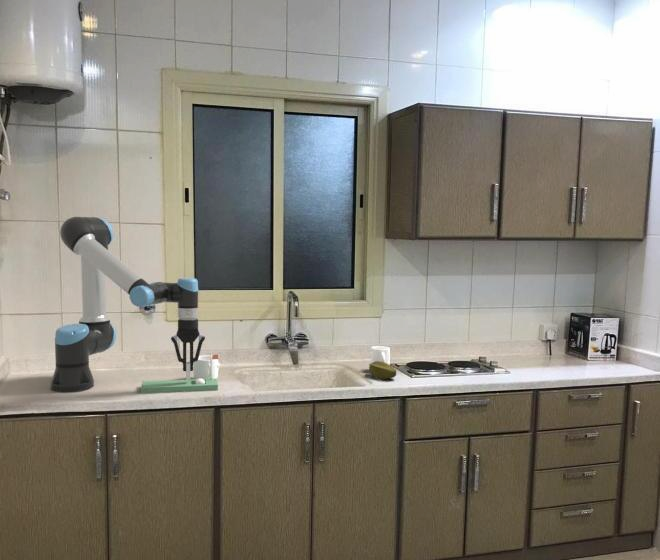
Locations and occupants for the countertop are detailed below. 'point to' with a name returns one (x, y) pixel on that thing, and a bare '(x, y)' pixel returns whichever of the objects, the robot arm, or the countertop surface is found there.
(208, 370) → the mug
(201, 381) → the ball
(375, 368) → the fruit
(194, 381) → the green
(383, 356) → the mug
